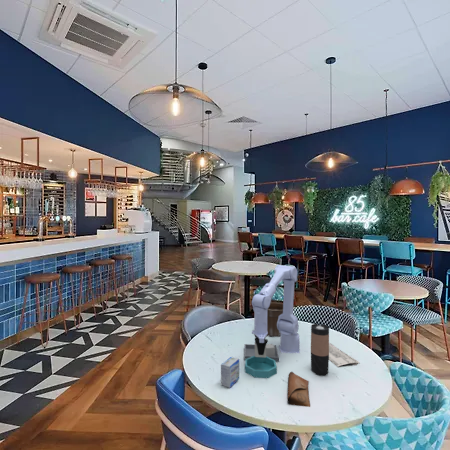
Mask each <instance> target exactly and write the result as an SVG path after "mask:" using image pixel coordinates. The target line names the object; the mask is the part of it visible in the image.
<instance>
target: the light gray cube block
mask: <svg viewBox="0 0 450 450" xmlns="http://www.w3.org/2000/svg"><path fill="white" fill-rule="evenodd" d="M273 345H274V344H273V343H269V344H268V343H267V344H266V356H267V357H274V356H275V347H274V346H273Z"/></svg>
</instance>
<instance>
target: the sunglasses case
mask: <svg viewBox="0 0 450 450" xmlns="http://www.w3.org/2000/svg"><path fill="white" fill-rule="evenodd" d="M287 381H288V382H287V397H286V398H287V400H286V401H287V404H288V405H291V406H298V407H306V408H307V407H308V408H311V402H310V394H309V383H310V381H309V380H307V379H306V378H303V377H301V376H299V375H297V374H296V373H294V372H293V371H290V372H289V373H288V378H287Z"/></svg>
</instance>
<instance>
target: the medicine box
mask: <svg viewBox="0 0 450 450" xmlns="http://www.w3.org/2000/svg"><path fill="white" fill-rule="evenodd" d="M239 379H240V359H239V358H237V357H233V356H230V357H229V358H228V359H226V360H225V361H223V362H222V363H221V364H220V385H221V386H224V387H226V388H229V389H230V388H232V387H233V386H234V385H235V384H236V382H238V381H239Z"/></svg>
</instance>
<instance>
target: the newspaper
mask: <svg viewBox="0 0 450 450" xmlns="http://www.w3.org/2000/svg"><path fill="white" fill-rule="evenodd" d="M329 362H331V363H332V364H333V365H334V366H336V367H337V368H339V367H340V366H343V365H349V364H350V365H354V366H357V365H358V364H359V363H360V362H359V361H358V360H356V359H355V358H354V357H352V356H350V355H349V354H348V353H346V352H344V351H342V350H341V349H339V348H338V347H337V346H335V345H334V344H333V343H331V342H329Z"/></svg>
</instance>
